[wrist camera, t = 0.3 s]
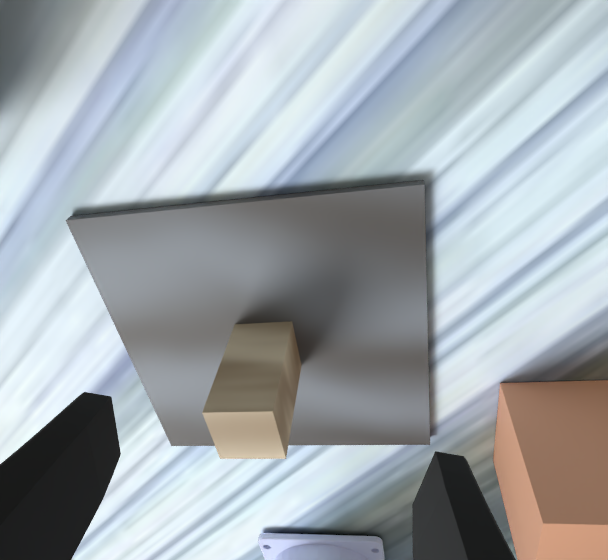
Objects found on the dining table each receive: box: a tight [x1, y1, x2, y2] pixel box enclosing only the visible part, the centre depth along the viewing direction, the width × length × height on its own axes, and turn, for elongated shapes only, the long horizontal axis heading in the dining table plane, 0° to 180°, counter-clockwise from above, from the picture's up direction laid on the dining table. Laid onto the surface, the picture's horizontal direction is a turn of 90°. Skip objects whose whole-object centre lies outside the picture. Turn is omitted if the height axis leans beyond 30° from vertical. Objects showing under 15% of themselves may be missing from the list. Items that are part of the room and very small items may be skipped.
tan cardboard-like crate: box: [493, 380, 608, 560], centre depth 20 cm, size 6×6×7 cm
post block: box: [66, 180, 430, 459], centre depth 20 cm, size 14×14×5 cm
